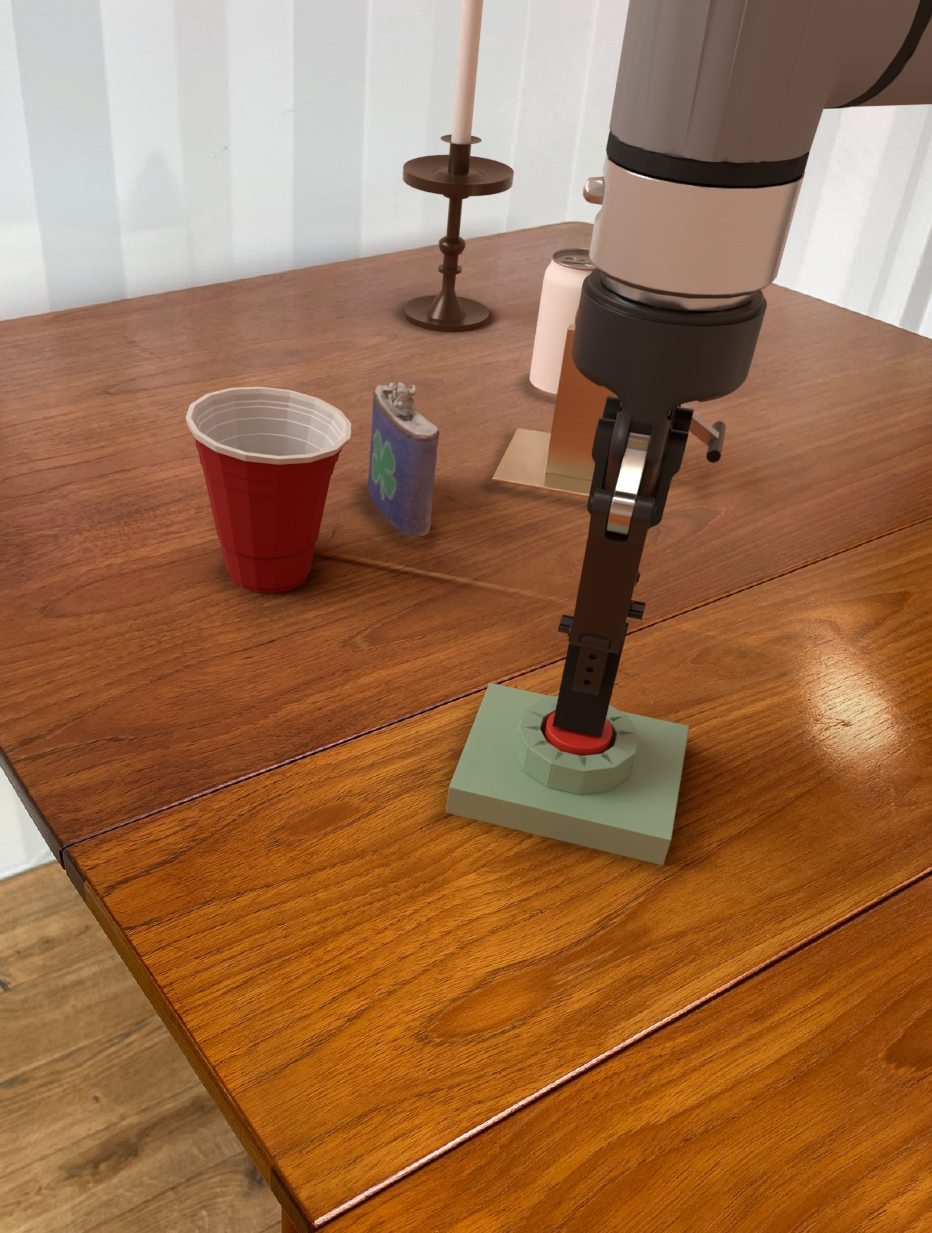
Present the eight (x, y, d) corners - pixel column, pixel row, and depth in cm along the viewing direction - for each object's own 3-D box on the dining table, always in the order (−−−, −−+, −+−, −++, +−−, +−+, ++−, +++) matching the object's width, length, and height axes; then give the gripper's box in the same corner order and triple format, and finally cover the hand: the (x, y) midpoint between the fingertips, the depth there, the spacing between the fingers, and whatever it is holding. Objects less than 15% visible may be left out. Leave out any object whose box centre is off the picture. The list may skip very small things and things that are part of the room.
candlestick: (444, 293, 125) (477, -105, 101) (517, 321, 119) (570, -94, 95) (373, 315, 119) (391, -102, 96) (447, 346, 113) (485, -90, 90)
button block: (680, 753, 67) (696, 701, 64) (662, 869, 60) (679, 815, 57) (485, 710, 69) (492, 658, 67) (445, 815, 62) (451, 762, 60)
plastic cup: (359, 611, 77) (366, 448, 69) (201, 621, 76) (190, 456, 68) (335, 532, 85) (338, 377, 77) (192, 540, 84) (180, 383, 76)
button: (610, 738, 64) (616, 714, 63) (601, 778, 61) (607, 754, 60) (548, 724, 65) (553, 700, 63) (536, 763, 62) (541, 739, 61)
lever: (713, 442, 90) (735, 420, 89) (707, 471, 86) (730, 449, 85) (579, 333, 88) (599, 308, 86) (567, 358, 84) (588, 333, 83)
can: (590, 410, 103) (615, 274, 95) (521, 398, 104) (540, 263, 96) (601, 383, 107) (626, 251, 99) (535, 373, 109) (554, 242, 101)
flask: (435, 544, 84) (447, 407, 77) (399, 550, 83) (408, 412, 76) (390, 488, 90) (398, 357, 83) (356, 493, 90) (361, 361, 83)
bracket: (653, 463, 95) (688, 310, 87) (638, 518, 88) (675, 357, 80) (515, 440, 98) (536, 289, 89) (490, 491, 91) (510, 332, 82)
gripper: (608, 222, 51) (534, 645, 67) (558, 317, 42) (486, 782, 58) (777, 243, 50) (660, 671, 65) (763, 348, 40) (631, 817, 56)
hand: (578, 723), depth 62 cm, fingers closed
